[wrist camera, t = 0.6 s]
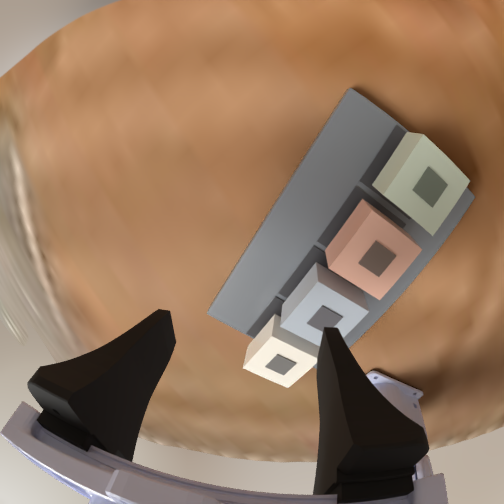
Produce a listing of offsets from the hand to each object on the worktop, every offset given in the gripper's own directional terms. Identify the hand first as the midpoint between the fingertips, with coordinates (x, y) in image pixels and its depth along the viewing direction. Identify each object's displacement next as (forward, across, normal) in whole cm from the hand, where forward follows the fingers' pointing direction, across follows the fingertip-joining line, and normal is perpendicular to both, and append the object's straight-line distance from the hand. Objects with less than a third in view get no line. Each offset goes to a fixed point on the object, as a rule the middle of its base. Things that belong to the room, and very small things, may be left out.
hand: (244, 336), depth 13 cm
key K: (+7, -4, +2) cm, 8 cm away
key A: (+7, -2, +6) cm, 9 cm away
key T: (+7, -7, -2) cm, 10 cm away
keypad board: (+10, -5, 0) cm, 11 cm away
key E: (+7, -9, -7) cm, 13 cm away
